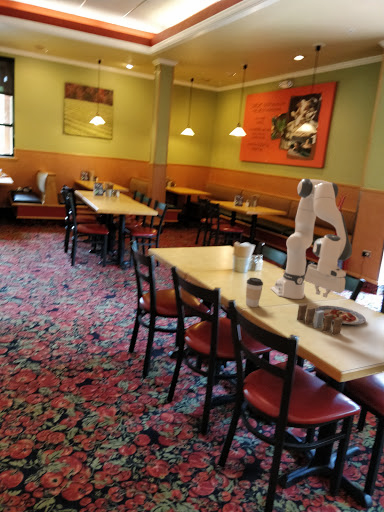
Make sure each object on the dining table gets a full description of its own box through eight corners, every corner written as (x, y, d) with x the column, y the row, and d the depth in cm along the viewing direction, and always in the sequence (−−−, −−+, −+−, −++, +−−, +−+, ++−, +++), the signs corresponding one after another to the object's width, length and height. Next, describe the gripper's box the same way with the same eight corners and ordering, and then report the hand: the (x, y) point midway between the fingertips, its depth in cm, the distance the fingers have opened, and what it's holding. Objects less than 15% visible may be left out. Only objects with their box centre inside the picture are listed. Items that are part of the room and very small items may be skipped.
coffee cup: (255, 301, 236) (258, 276, 232) (263, 307, 228) (266, 281, 224) (240, 302, 233) (244, 276, 229) (248, 308, 224) (252, 281, 221)
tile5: (331, 334, 199) (334, 318, 197) (337, 332, 202) (339, 316, 201) (334, 335, 198) (337, 319, 196) (340, 333, 201) (342, 318, 199)
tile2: (304, 323, 210) (307, 308, 208) (310, 321, 213) (313, 306, 211) (307, 324, 209) (310, 309, 207) (313, 322, 212) (315, 307, 210)
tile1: (296, 320, 214) (299, 305, 212) (302, 318, 217) (304, 303, 215) (299, 321, 212) (301, 306, 211) (304, 319, 216) (307, 304, 214)
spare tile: (313, 326, 206) (316, 311, 204) (319, 325, 210) (321, 310, 208) (316, 328, 205) (318, 312, 203) (321, 326, 208) (324, 311, 207)
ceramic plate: (325, 305, 241) (326, 301, 240) (371, 319, 225) (372, 314, 225) (306, 316, 221) (307, 311, 220) (355, 332, 206) (356, 326, 205)
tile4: (322, 330, 203) (325, 315, 201) (327, 328, 206) (330, 313, 204) (325, 331, 202) (328, 316, 200) (330, 329, 205) (333, 314, 203)
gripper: (304, 263, 206) (299, 289, 209) (342, 275, 191) (336, 303, 195) (312, 262, 210) (307, 288, 213) (349, 273, 195) (343, 301, 199)
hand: (321, 295), depth 204 cm, fingers open, 3 cm apart
